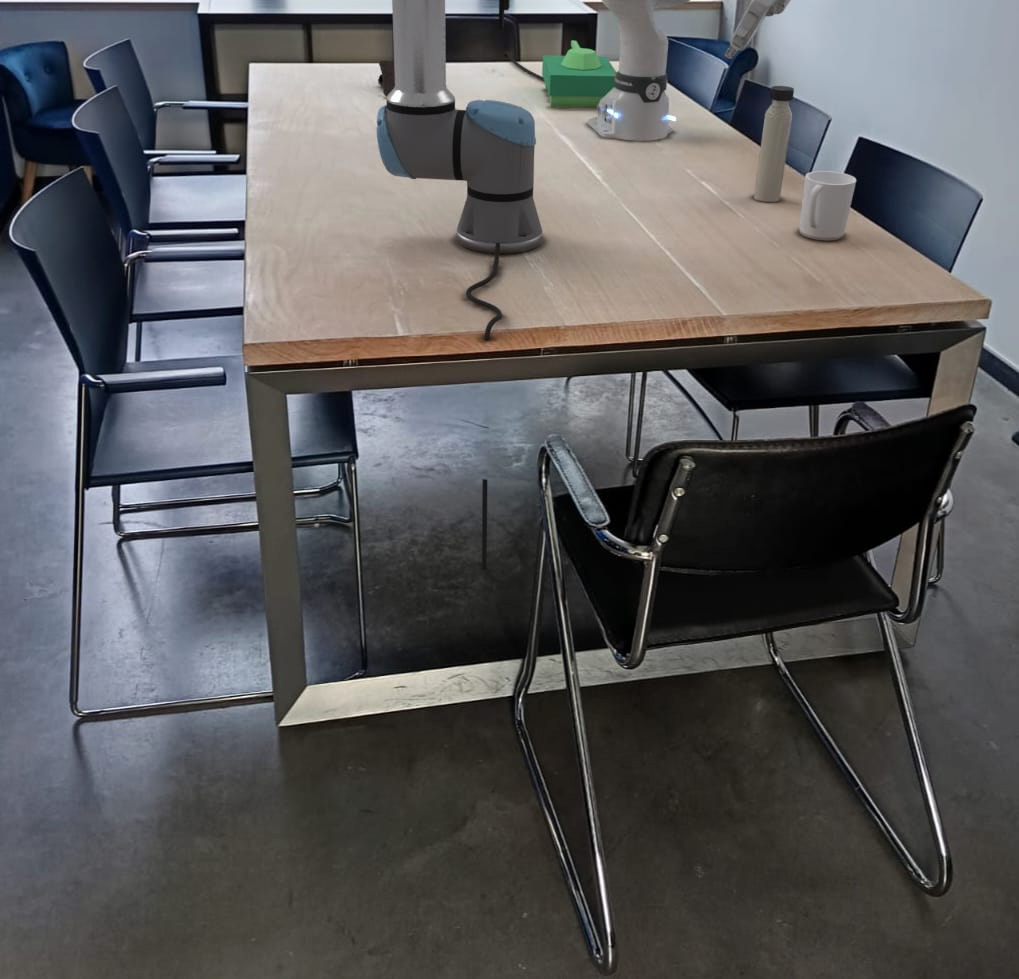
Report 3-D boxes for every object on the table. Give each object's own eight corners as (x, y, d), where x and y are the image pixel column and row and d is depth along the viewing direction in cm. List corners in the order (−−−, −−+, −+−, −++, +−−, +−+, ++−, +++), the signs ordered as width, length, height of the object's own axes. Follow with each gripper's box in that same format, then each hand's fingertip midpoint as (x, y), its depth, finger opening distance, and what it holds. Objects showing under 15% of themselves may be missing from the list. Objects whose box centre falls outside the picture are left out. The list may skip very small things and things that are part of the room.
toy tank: (603, 37, 308) (620, 60, 279) (600, 82, 315) (616, 110, 285) (541, 36, 308) (551, 59, 278) (539, 81, 314) (548, 109, 284)
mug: (809, 222, 208) (818, 168, 202) (854, 233, 203) (864, 177, 197) (782, 236, 200) (791, 180, 195) (827, 247, 195) (838, 190, 190)
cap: (772, 101, 209) (774, 90, 208) (767, 96, 213) (768, 85, 212) (795, 101, 209) (796, 90, 208) (789, 96, 213) (790, 85, 212)
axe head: (443, 87, 294) (392, 77, 287) (436, 115, 299) (385, 106, 292) (421, 62, 307) (371, 52, 300) (414, 89, 311) (365, 80, 304)
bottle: (757, 202, 219) (772, 93, 208) (751, 194, 223) (765, 87, 212) (782, 202, 219) (799, 93, 208) (776, 194, 224) (791, 87, 213)
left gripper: (534, -91, 215) (530, 25, 226) (409, -94, 217) (412, 20, 229) (530, -88, 209) (526, 31, 220) (401, -92, 211) (405, 26, 222)
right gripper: (745, 7, 238) (710, 58, 238) (770, -41, 218) (732, 16, 217) (769, 23, 238) (734, 75, 238) (796, -23, 218) (758, 34, 217)
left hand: (468, 26), depth 224 cm, fingers open, 13 cm apart
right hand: (733, 46), depth 227 cm, fingers open, 8 cm apart
